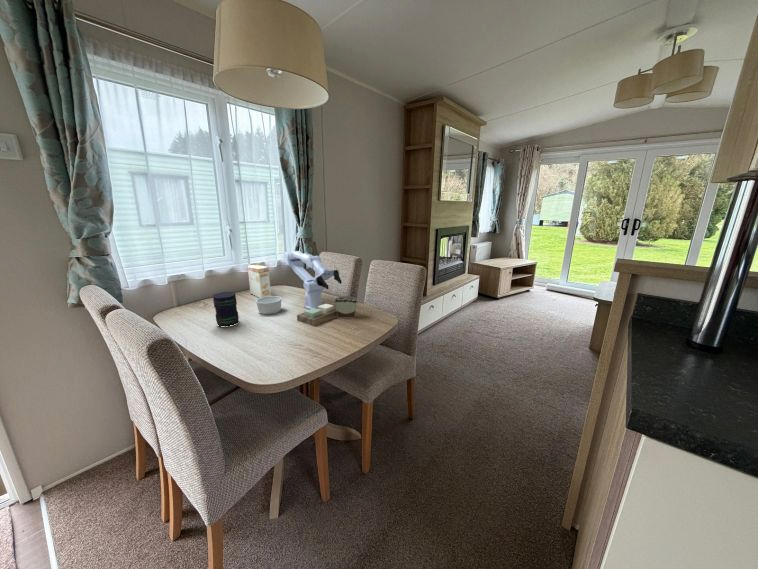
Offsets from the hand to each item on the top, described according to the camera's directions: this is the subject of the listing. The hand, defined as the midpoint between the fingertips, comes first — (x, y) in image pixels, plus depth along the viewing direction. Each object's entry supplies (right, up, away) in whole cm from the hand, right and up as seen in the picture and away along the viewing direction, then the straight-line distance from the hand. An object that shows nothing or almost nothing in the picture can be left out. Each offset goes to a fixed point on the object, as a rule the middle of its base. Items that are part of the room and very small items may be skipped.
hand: (334, 284), depth 148 cm
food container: (+6, -17, +7) cm, 19 cm away
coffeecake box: (-55, -7, +43) cm, 70 cm away
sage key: (-11, -15, 0) cm, 19 cm away
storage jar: (-52, -19, -4) cm, 55 cm away
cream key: (-5, -14, +7) cm, 16 cm away
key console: (-8, -17, +4) cm, 19 cm away
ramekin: (-38, -15, +14) cm, 43 cm away
